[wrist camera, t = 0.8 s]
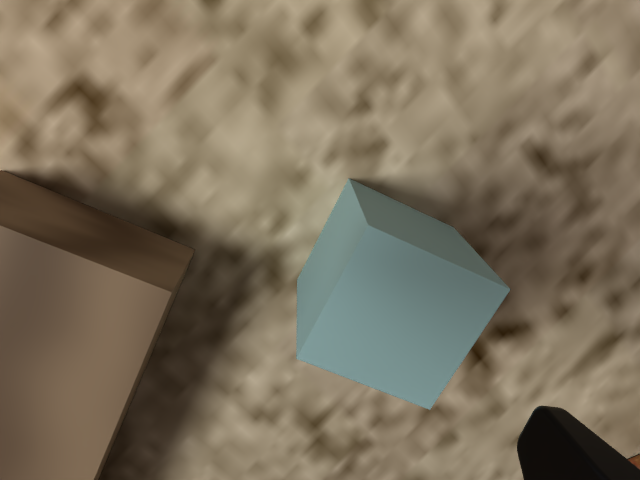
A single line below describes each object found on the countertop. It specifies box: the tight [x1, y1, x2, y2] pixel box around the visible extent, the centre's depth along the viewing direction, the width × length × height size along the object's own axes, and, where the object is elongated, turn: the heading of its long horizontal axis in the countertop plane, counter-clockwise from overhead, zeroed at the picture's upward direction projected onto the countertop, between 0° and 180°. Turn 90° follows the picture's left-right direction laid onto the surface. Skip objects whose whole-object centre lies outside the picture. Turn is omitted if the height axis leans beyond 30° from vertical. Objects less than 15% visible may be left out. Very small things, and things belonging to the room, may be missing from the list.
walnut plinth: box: [0, 170, 195, 480], centre depth 21 cm, size 8×20×4 cm, turn 154°
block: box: [296, 179, 510, 410], centre depth 18 cm, size 5×5×6 cm
